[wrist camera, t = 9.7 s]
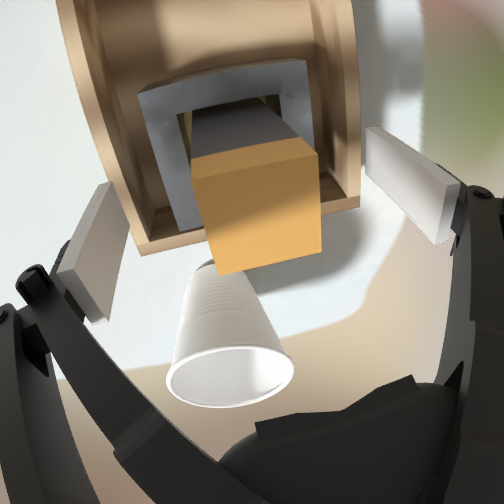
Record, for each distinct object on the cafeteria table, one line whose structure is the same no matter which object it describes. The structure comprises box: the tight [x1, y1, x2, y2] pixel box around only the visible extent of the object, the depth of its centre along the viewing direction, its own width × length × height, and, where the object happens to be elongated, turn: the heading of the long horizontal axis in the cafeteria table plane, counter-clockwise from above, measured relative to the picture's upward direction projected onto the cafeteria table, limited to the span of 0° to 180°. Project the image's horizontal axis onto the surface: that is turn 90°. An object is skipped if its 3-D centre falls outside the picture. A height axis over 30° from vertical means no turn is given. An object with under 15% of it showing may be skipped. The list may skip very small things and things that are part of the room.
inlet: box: [137, 57, 315, 231], centre depth 19 cm, size 9×9×4 cm
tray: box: [56, 0, 361, 257], centre depth 16 cm, size 22×16×5 cm
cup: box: [166, 264, 295, 408], centre depth 27 cm, size 10×10×11 cm
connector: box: [191, 97, 322, 276], centre depth 16 cm, size 4×4×12 cm
